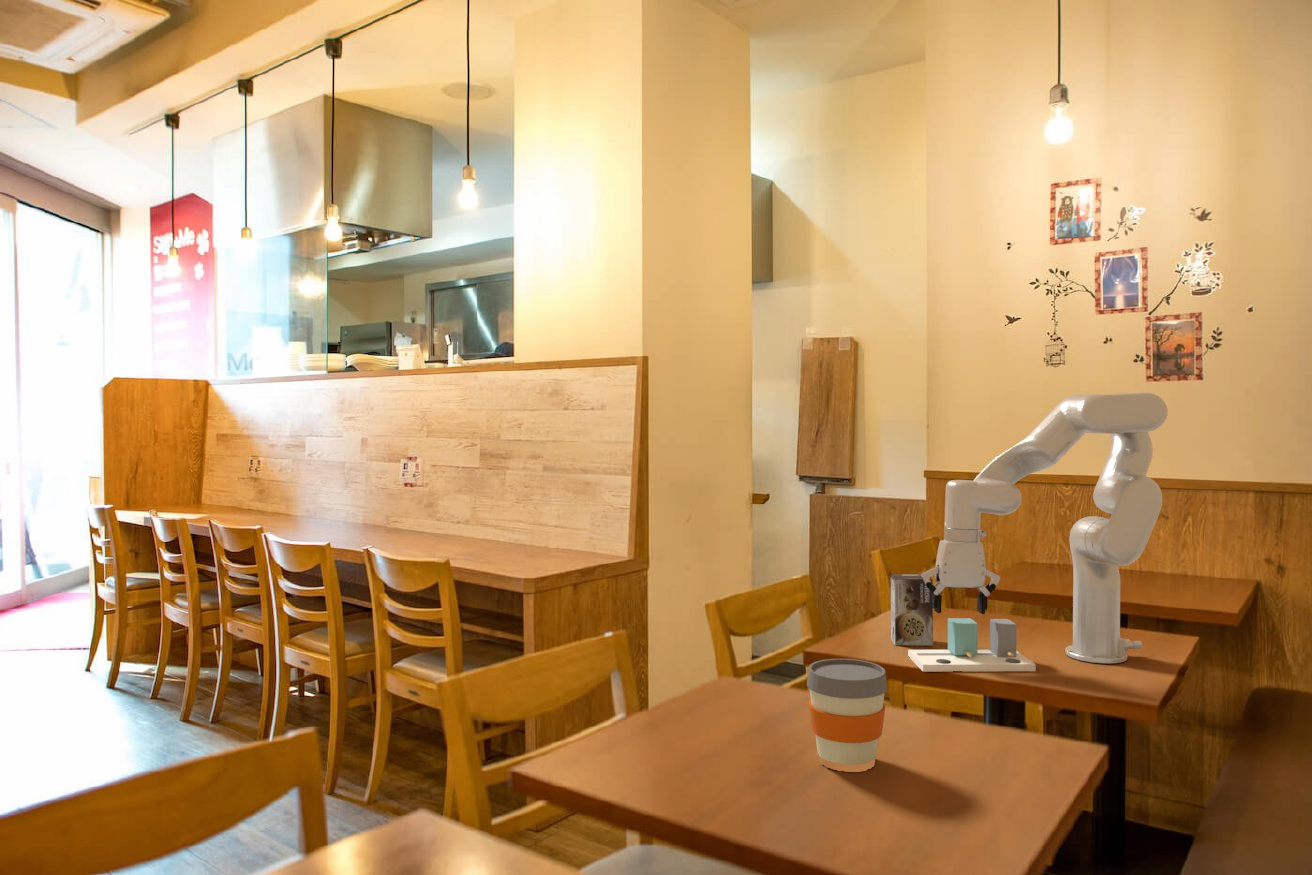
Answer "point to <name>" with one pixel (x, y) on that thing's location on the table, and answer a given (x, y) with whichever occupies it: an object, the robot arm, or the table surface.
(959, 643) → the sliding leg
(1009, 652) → the board
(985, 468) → the robot arm
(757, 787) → the table surface
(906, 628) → the coffee box
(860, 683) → the reusable coffee cup
